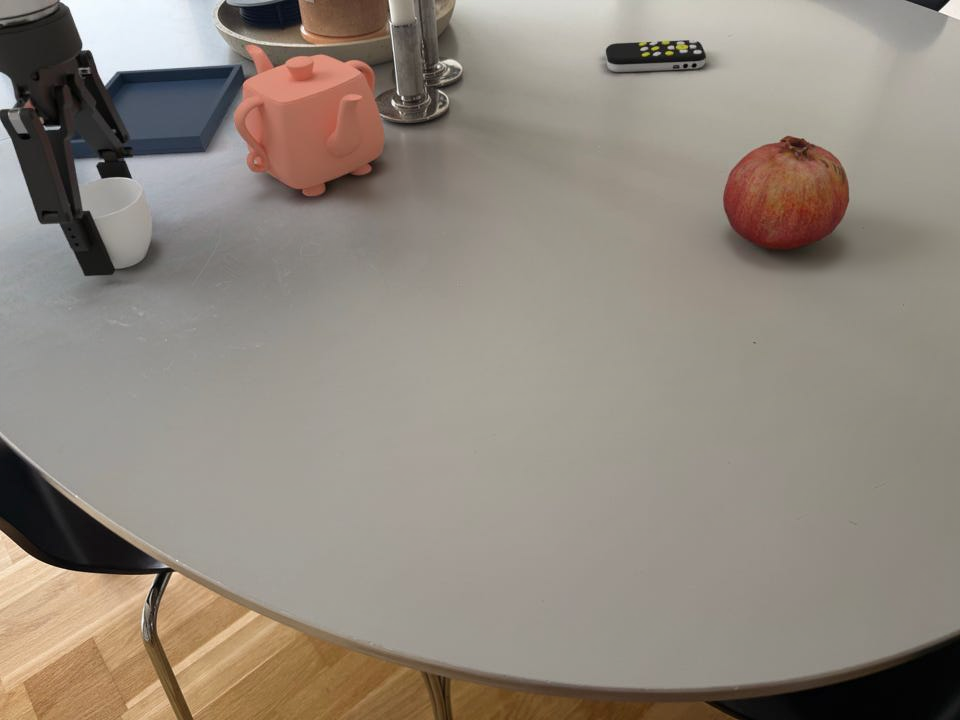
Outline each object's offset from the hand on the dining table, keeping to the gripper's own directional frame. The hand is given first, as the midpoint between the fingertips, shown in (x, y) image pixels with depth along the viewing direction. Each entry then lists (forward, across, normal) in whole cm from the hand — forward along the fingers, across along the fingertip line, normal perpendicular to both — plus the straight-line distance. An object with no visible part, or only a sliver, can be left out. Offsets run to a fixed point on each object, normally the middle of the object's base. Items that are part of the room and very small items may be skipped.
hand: (117, 245), depth 81 cm
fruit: (+2, -2, -64) cm, 64 cm away
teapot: (+1, +15, -18) cm, 24 cm away
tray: (+1, +32, +6) cm, 33 cm away
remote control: (+1, +40, -59) cm, 71 cm away
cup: (+1, 0, 0) cm, 1 cm away
